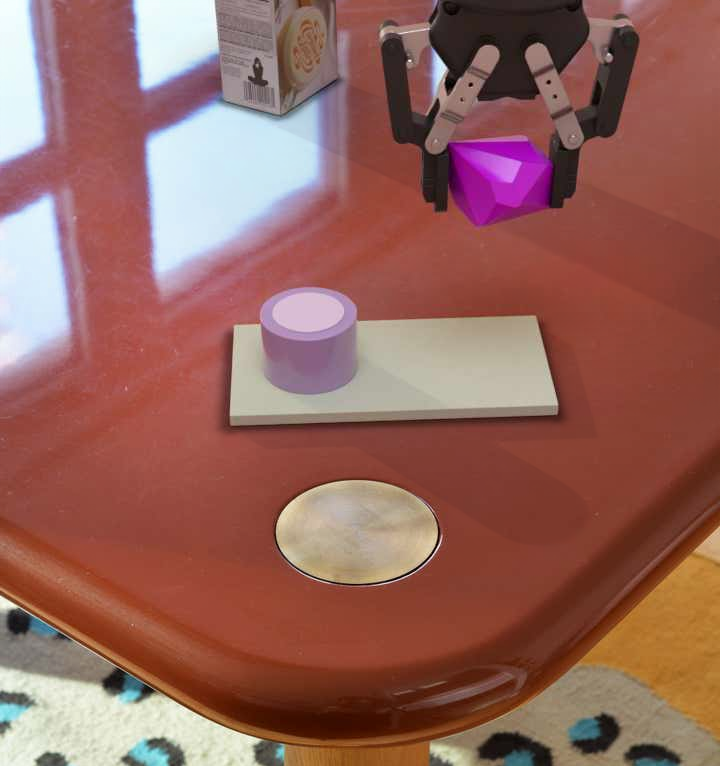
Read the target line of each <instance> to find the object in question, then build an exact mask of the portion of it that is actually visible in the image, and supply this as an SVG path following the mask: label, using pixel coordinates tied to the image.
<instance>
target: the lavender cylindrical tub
mask: <svg viewBox="0 0 720 766" xmlns="http://www.w3.org/2000/svg"><path fill="white" fill-rule="evenodd" d="M357 321H358V309H357V307H356V304H355V303H354V301H353V300H352V299H351V298H350V297H348V296H347V295H346V294H343V293H341V292H339V291H337V290H333V289H331V288H325V287H320V286H319V287H317V286H305V287H304V286H303V287H296V288H295V287H294V288H291V289H287V290H283V291H281V292H278V293H276V294H274V295H273V296H271V297H269V298H268V299H267V300H266V301H265V302H264V303H263V304H262V306H261V308H260V310H259V324H260V331H261V345H262V359H263V371H264V374H265V376H266V378H267V379H268V380H269V381H270V382H271V383H272V384H273V385H275V386H276V387H278V388H280V389H282V390H285V391H288V392H292V393H298V394H320V393H325V392H330V391H333V390H336V389H338V388H340V387H342V386H344V385H346V384H347V383H348V382H350V381H351V380H352V379H353V377H354V376H355V374H356V372H357V369H358V325H357Z"/></svg>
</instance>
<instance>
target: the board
mask: <svg viewBox="0 0 720 766" xmlns="http://www.w3.org/2000/svg"><path fill="white" fill-rule="evenodd" d="M357 325H358V369H357V372H356V374H355V376H354V377H353V379H352V380H351V381H350V382H348V383H347V384H346V385H344V386H342V387H340V388H338V389H336V390H333V391H330V392H325V393H320V394H298V393H292V392H288V391H285V390H282V389H280V388H278V387H276V386H275V385H273V384H272V383H271V382H270V381H269V380H268V379H267V378H266V376H265V374H264V371H263V359H262V345H261V331H260V323H253V324H251V323H250V324H249V323H248V324H234V325H233V340H232V360H231V361H232V363H231V382H230V399H229V400H230V402H229V403H230V404H229V423H230V426H231V427H234V426H235V427H236V426H237V427H239V426H240V427H241V426H269V425H271V426H272V425H273V426H274V425H299V424H301V425H302V424H326V423H327V424H329V423H356V422H357V423H359V422H360V423H361V422H389V421H390V422H391V421H393V422H394V421H415V420H416V421H419V420H448V419H449V420H451V419H475V418H477V419H478V418H480V419H481V418H482V419H483V418H508V417H510V418H511V417H512V418H513V417H538V416H539V417H540V416H558V414H559V401H558V398H557V393H556V390H555V385H554V381H553V377H552V374H551V373H552V372H551V370H550V365H549V361H548V358H547V353H546V350H545V349H546V348H545V346H544V341H543V338H542V334H541V330H540V325H539V321H538V318H537V315H507V316H478V317H477V316H476V317H444V318H440V317H439V318H413V319H412V318H411V319H381V320H380V319H379V320H377V319H375V320H357Z"/></svg>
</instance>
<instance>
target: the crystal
mask: <svg viewBox="0 0 720 766" xmlns="http://www.w3.org/2000/svg"><path fill="white" fill-rule="evenodd" d="M447 147H448V151H449V178H448V192H449V194H450V196H451V199H452V201H453V203H454V205H455V206H456V208H458V209H459V210H460V211H461V213H462V214H463V215H464V216H465V217H466V218H467V219H468V220H469V221H470V222H471V223H472V225H474V227H476V228H479V227H482V228H483V227H488V226H492V225H496V224H499V223H503V222H506V221H510V220H514V219H518V218H520V217H525V216H528V215H532V214H535V213H539V212H544V211H547V210H551V209H550V207H549V199H550V191H551V184H552V177H553V169H554V165H553V164H552V163H551V161H550V160H549V159H548V155H546V154H545V152H544V151H543V150H542V149H540V147H538V145H537V144H536V143H534V142H533V141H532V140H531V139H530V138H529V137H528V136H525V135H523V134H516V135H515V134H514V135H506V136H496V137H495V136H494V137H486V138H477V139H466V140H456V141H449V143H448V144H447Z"/></svg>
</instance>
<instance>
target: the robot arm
mask: <svg viewBox="0 0 720 766" xmlns="http://www.w3.org/2000/svg"><path fill="white" fill-rule="evenodd" d="M377 34H378V41H379V49H380V56H381V64H382V70H383V79H384V86H385V94H386V101H387V108H388V115H389V121H390V122H389V123H390V128H391V134H392V139H393V140H394V141H395V142H396V143H397V144H400V145H406V144H407V145H408V144H412V145H414V146H416V147H419V148H420V151H421V153H420V155H421V157H420V187H421V194H422V197H423V198H424V201H425V203H426V204H432V206H433V212H434V213H448V204H449V184H448V178H449V151H448V147H447V144H448V143H449V142H451V141H450V140H451V139H452V137H453V135H454V133H455V132H456V130H457V128H458V126H459V124H460V123H462V122H463V121H465V119H466V117H467V116H468V113H469V112H470V110H471V109H472V106H473V104H474V103H475V101H476V100H477V102H492V101H496V100H500V99H504V98H512V99H516V100H520V101H528V100H529V101H530V100H532V101H533V100H536V96H538V95H541V98H542V100H543V102H544V105H545V107H546V109H547V111H548V114H549V116H550V119H551V121H552V122H553V125H554V127H555V129H554V133H550V134H549V145H548V155H547V157H548V159H549V160H550V161H551V163H552V164H553V165H554V169H553V177H552V184H551V191H550V199H549V207H550V209H549V210H553V209H563V208H564V205H565V204H564V203H565V199H572V198H573V196H574V194H575V192H576V190H577V180H578V171H579V161H580V151H581V148H582V147H583V145H584V144H585V143H586V142H587V141H589V140H591V139H594V138H597V137H600V138H602V139H607V138H611V137H612V136H614V135H615V133H616V132H617V130H618V126H619V122H620V119H621V116H622V112H623V108H624V104H625V99H626V96H627V92H628V88H629V84H630V80H631V76H632V73H633V70H634V65H635V61H636V57H637V54H638V51H639V47H640V41H641V39H640V36H639V34H638V32H637V29H636V28H635V26H634V23H633V22H632V20H631V18H630V17H629V16H628V15H627V14H625V13H617V14H615V15H613V16H612V17H611V18H610V19H607V18H598V17H589V16H587V15H586V12H585V8H584V0H436V3H435V6H434V9H433V11H432V13H431V14H430V16H429V18H428V20H427V21H425V22H420V23H419V22H418V23H414V24H413V23H412V24H406V25H401V26H400V24H399V23H398V22H397V21H395V20H392V19H386V20H384V21H383V22H381V24H380V25H379V26H378V29H377ZM587 42H590V43H591V50H592V53H593V55H594V58H595V60H596V61H597V62H598V65H597V70H596V73H595V78H594V80H593V86H592V90H591V94H590V97H589V102H588V105H587V106H585V107H582V108H579V109H577V110H574V108H573V105H572V103H571V101H570V98H569V96H568V94H567V91H566V89H565V87H564V84H563V82H562V81H563V80H562V79H561V76H560V75H561V74H562V72H564V70H565V69H566V67H568V65H569V63H571V61H572V60H573V59H574V58H575V56H576V55H577V54H578V53H579V51H580V50H581V49H582V48H583V46H584V45H585V44H586V43H587ZM430 46H431V47H432V49H433V51H434V52H435V53H436V54H437V56H438V57H439V59H440V60H441V62H442V63H443V64H444V66H445V68H446V69H445V71H444V73H443V75H442V77H441V79H440V81H439V83H438V85H437V88H436V92H435V95H434V97H433V99H432V102H431V103H430V104H429V107H428V109H427V111H426V113H425V114H422V113H418V112H416V111H413V109H412V101H411V95H410V86H409V78H408V71H412V70H414V69H416V68H417V67H418V66H419V64H420V61H421V54H422V52H423V51H424V49H425V48H428V47H430Z"/></svg>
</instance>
